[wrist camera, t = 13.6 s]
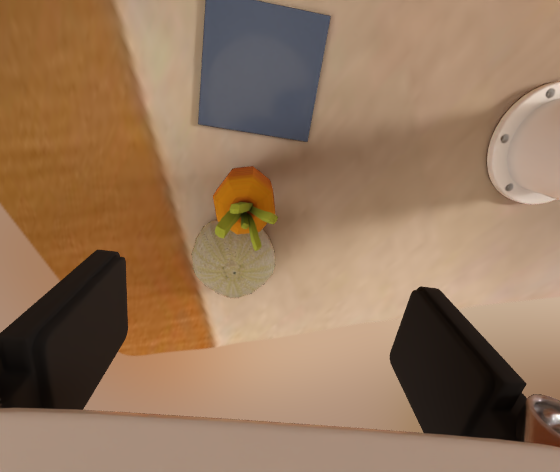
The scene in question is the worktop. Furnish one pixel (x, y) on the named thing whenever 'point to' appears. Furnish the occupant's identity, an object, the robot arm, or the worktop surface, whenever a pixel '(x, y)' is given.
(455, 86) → the worktop surface
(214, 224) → the sea urchin shell
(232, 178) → the carrot
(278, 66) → the napkin
